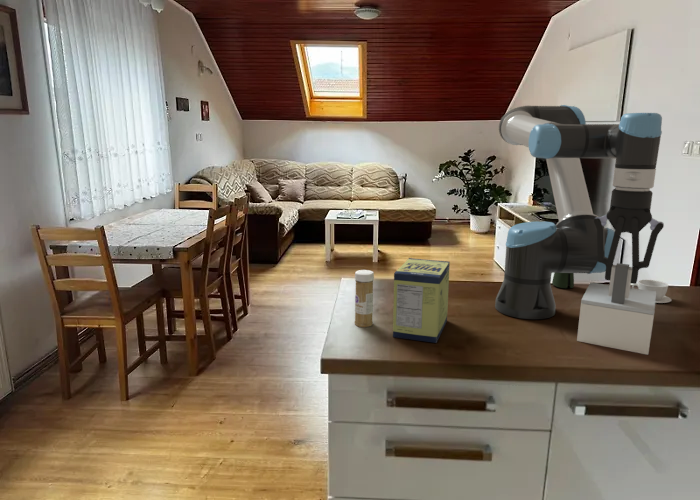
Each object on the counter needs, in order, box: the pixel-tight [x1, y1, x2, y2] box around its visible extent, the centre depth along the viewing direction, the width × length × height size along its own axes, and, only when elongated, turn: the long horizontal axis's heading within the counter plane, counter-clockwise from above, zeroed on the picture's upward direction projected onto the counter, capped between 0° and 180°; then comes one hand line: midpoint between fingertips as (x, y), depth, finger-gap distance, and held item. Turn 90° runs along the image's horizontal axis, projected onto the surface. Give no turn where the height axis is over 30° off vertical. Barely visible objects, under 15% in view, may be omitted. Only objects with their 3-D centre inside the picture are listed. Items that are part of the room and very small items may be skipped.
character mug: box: [551, 273, 575, 289], centre depth 153 cm, size 11×7×13 cm, turn 100°
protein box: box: [392, 257, 451, 344], centre depth 119 cm, size 10×16×16 cm
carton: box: [576, 302, 655, 355], centre depth 115 cm, size 14×16×9 cm
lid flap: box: [580, 262, 656, 316], centre depth 113 cm, size 16×14×9 cm
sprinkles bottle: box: [354, 269, 375, 328], centre depth 121 cm, size 5×5×13 cm
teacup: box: [631, 279, 672, 304], centre depth 143 cm, size 10×10×5 cm
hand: (618, 295), depth 110 cm, fingers closed on lid flap, 2 cm apart
